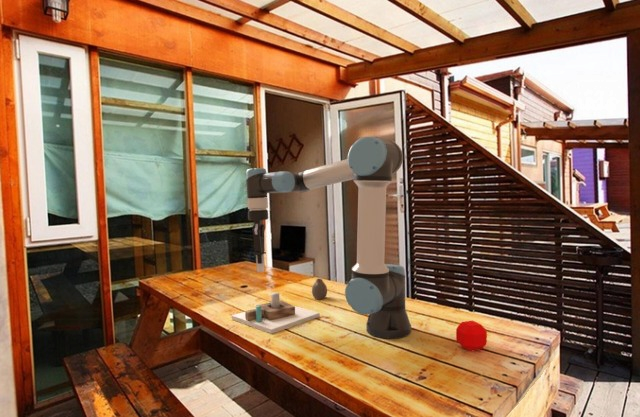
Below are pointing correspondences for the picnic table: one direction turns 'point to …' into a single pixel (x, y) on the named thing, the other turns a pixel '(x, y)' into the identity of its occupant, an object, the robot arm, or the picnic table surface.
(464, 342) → the ball
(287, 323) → the base
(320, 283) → the avocado
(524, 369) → the picnic table surface
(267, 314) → the collar
